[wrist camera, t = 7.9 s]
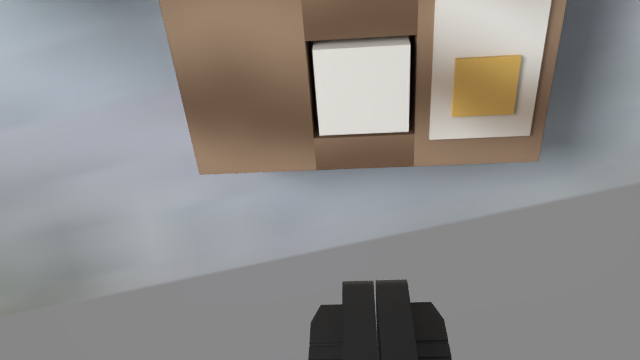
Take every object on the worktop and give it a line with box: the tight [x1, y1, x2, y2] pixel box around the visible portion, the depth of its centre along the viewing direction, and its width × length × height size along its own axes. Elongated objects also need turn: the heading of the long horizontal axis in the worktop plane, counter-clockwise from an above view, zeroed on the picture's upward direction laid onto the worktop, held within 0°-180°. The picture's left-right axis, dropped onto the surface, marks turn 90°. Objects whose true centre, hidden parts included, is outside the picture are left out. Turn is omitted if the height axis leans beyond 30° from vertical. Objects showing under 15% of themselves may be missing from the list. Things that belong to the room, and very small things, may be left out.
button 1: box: [312, 35, 410, 136], centre depth 24 cm, size 4×4×2 cm
